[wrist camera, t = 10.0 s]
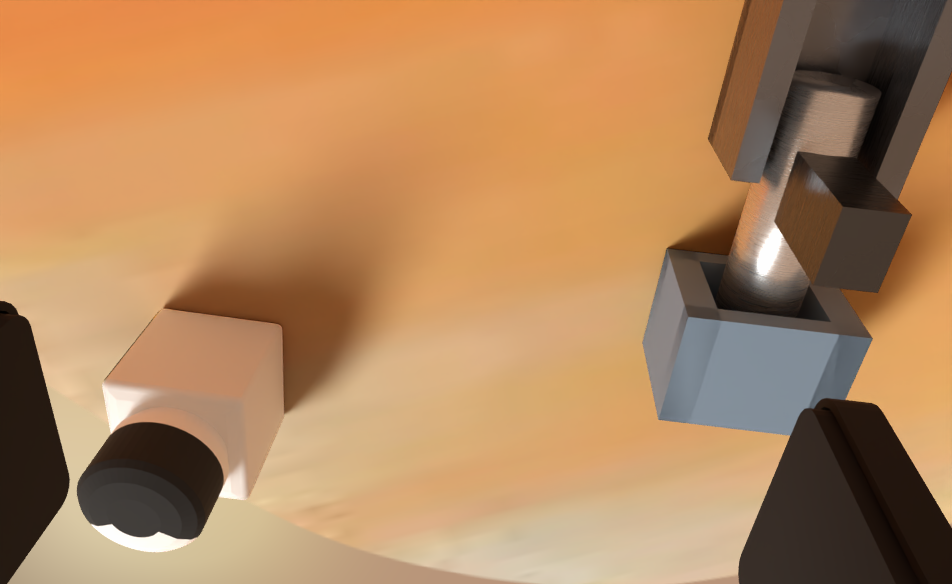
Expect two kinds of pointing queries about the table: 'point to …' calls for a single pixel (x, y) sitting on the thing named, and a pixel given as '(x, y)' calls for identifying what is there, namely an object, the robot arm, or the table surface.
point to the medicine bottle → (184, 427)
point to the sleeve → (838, 52)
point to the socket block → (745, 351)
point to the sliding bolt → (814, 205)
